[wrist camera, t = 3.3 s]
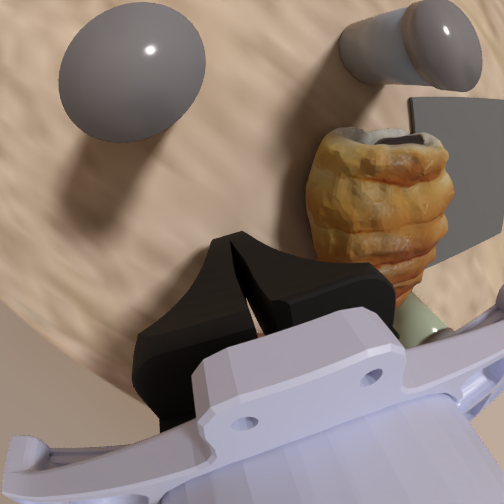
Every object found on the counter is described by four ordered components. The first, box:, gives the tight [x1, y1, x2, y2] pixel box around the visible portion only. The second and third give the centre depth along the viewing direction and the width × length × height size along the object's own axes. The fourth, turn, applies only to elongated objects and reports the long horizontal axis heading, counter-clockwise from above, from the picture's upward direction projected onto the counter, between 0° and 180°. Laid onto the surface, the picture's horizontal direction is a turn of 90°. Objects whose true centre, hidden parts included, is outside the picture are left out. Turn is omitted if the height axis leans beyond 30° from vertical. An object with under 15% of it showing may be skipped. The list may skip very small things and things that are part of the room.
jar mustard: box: [59, 2, 206, 143], centre depth 7 cm, size 3×3×5 cm
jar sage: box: [393, 291, 454, 349], centre depth 15 cm, size 3×3×5 cm
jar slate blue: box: [339, 0, 482, 92], centre depth 8 cm, size 3×3×5 cm
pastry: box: [306, 126, 455, 309], centre depth 12 cm, size 9×7×4 cm
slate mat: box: [410, 97, 504, 269], centre depth 14 cm, size 10×10×1 cm
